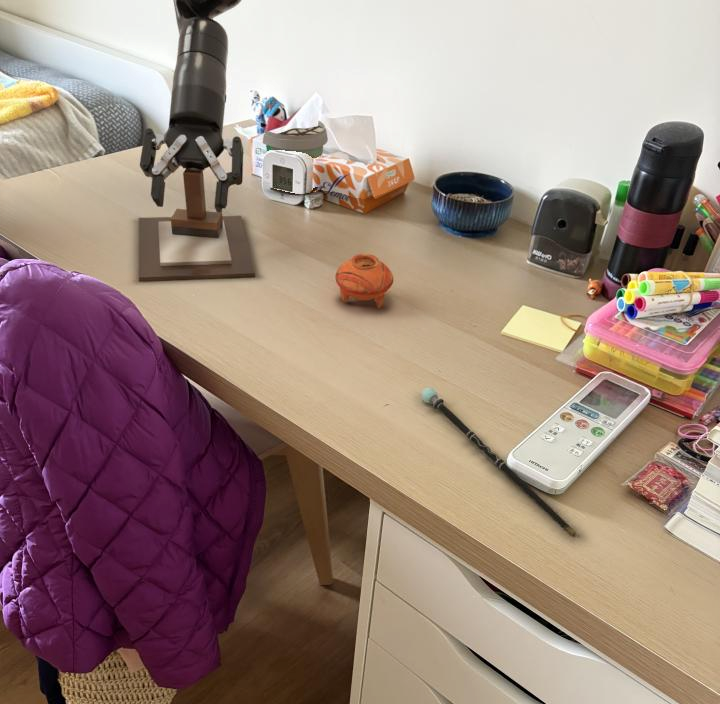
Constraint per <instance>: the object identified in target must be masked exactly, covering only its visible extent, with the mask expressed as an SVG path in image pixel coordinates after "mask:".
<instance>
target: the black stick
mask: <svg viewBox="0 0 720 704" xmlns="http://www.w3.org/2000/svg"><path fill="white" fill-rule="evenodd" d="M421 398H422V400H423V401H424V403H426V404H430V405H432V407H433V409H434V410H440V412H441V413H442V414H443V415H444V416H445V417H446V418H447V419H448V420H450V422H451V423H452V424H453V425H455V427H457V428H458V429H459V430H460V432H462V433H463V434H465V435H466V438H467V439H469V440H470V442H473V444H475V445H476V447H477V448H478V449H479V450H482V451H483V452H484V453H485V455H486V456H487V457H488V458H489V459H491V460H492V461H493V463H494V465H495V466H497V467H498V468H499V469H500V470H502V471H503V472H504V473H505V474H506V475H507V476H508V477H509V478H510V479H511V480H512V481H514V482H515V483H516V484H517V485H518V486H519V487H520V488H521V489H522V490H523V491H524V492H525V493H526V494H527V495H528V496H529V497H530V498H531V499H532V500H534V501H535V503H537V504H538V505H539V506H540V507H541V509H543V510H544V511H545V512H546V513H547V514H548V515H549V516H550V517H552V518H553V520H555V521H556V522H557V523H558V524H559V525H560V526H561V527H562V528H563V529H564V530H566V532H567V533H568V534H570V535H571V536H576V535H577V533H576V531H575V530H574V529H573V528H572V527H571V525H569V524H568V523H567V522H566V521H565V520H564V519H563V517H561V515H559V514H558V513H557V512H556V511H555V510H554V509H553V508H552V507H551V506H550V505H549V504H548V503H547V502H546V501H544V500H543V498H542V497H540V495H538V494H537V493H536V492H535V491H534V490H533V489H532V488H531V487H530V486H529V485H528V484H527V483H525V481H524V480H523V479H522V478H521V477H520V476H518V474H517V473H515V471H514V470H512V469H511V468H510V467H509V466H508V465H507V463H506V461H505V460H503V459H502V458H500V456H499V455H498V454H496V453H495V452H493V451H492V450H491V448H490V447H489V446H487V444H485V443H484V442H483V441H482V440H481V439H480V438H479V437H478V436H477V434H476V433H475V432H474V431H473V430H470V429H469V427H468V426H467V425H466V424H465V423H464V422H463V421H462V420H461V419H460V418H459V417H458V416H457V415H456V414H455V413H454V412H452V411H451V410H450V409H449V408H448V407H447V406H445V404H444V402H445V401H444V399H443V398H439V395H438V392H437V390H435V389H434V388H431V387H427V388H424V389H423V390H422V391H421Z"/></svg>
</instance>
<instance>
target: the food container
mask: <svg viewBox="0 0 720 704" xmlns="http://www.w3.org/2000/svg"><path fill="white" fill-rule="evenodd" d="M328 140H329V139H328V131H327V129H326V125H325V124H324V123H323V122H322V121H321V120H318V121H317V126H312V127H307V128H306V127H305V128H301V127H294V128H290V129H287V130H284V131H282V132H279V133H276V132H272V131H269V130H267V129H264V133H263V137H262V144H264V145H265V147H266V149H265V150H266V152H267V151H269V150H285V151H296V152H302V153H306V154H308V155H309V156H311V157H312V158H317V157H319V156H321V155H322V156H323V154H324V153H323V151H324V146H325V145H326V144H328ZM270 190H272V191H274V192H275V193H280V194H284V195H293V196H300V194H295V193H290V192H285V191H282V190H277V189H274V188H270ZM317 190H319V187H315V188H313V190H312V191H311V192H310V193H308V194H312V193H314V192H316V191H317ZM308 194H307V195H308Z"/></svg>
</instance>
